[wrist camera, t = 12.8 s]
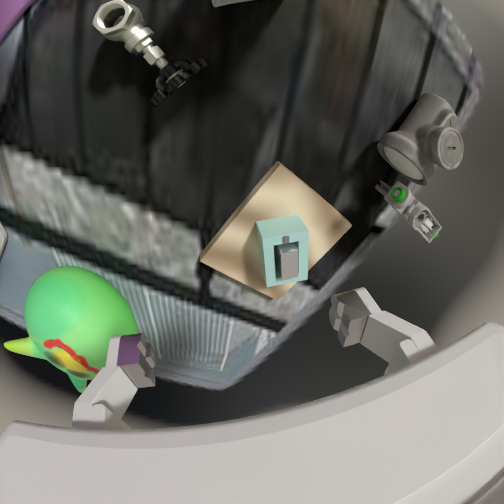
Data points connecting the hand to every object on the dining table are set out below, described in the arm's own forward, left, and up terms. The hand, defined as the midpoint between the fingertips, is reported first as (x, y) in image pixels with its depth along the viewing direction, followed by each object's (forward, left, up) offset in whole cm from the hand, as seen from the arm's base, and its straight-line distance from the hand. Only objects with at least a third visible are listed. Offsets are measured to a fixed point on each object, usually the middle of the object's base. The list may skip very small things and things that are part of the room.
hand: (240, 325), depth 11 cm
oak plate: (-4, -13, -24) cm, 27 cm away
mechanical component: (+11, -20, -24) cm, 33 cm away
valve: (+7, +14, -24) cm, 29 cm away
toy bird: (-28, +5, -24) cm, 37 cm away
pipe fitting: (+20, -17, -24) cm, 36 cm away
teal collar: (-4, -13, -22) cm, 26 cm away
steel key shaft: (-4, -13, -22) cm, 26 cm away
